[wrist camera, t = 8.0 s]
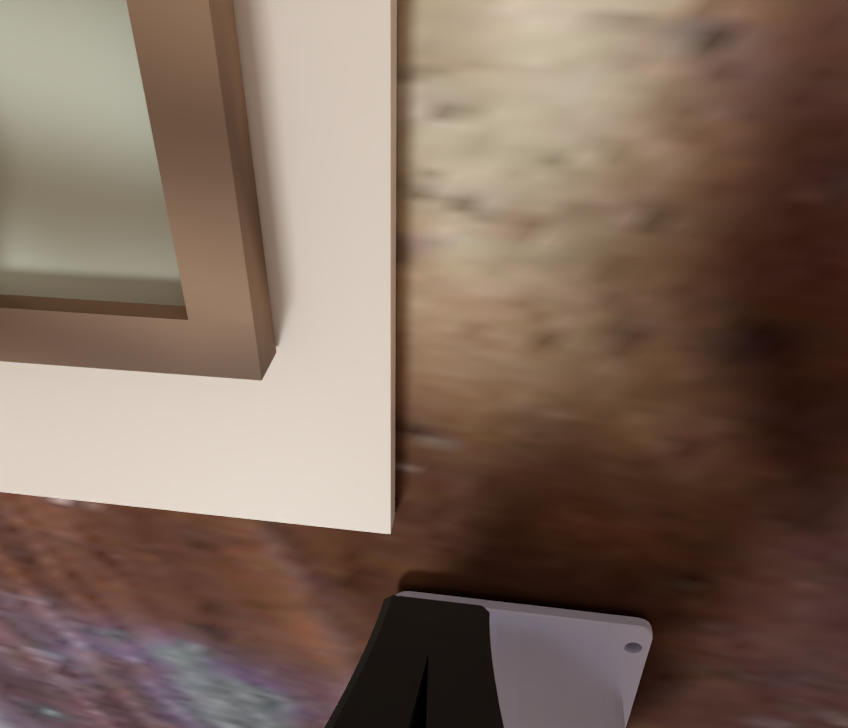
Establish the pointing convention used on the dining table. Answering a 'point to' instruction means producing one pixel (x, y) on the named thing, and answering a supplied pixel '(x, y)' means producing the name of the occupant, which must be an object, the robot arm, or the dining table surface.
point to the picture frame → (129, 190)
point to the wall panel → (290, 306)
